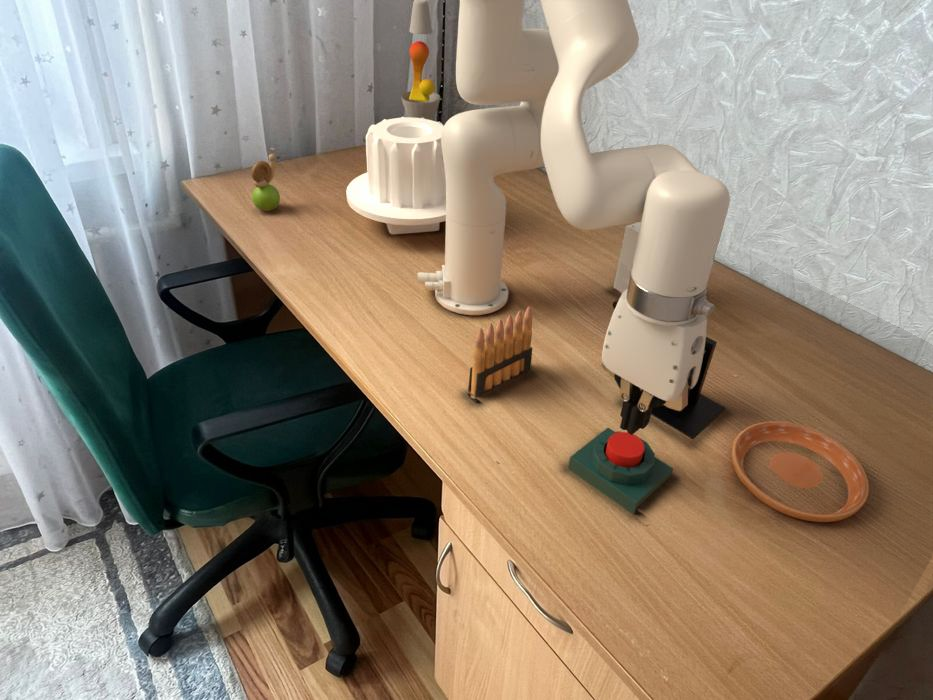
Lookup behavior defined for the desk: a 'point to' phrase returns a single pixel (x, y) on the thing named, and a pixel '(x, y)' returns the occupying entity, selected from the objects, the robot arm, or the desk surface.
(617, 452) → the button
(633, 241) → the small box
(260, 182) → the snail figurine
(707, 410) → the stand
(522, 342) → the ammunition clip
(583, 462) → the button block
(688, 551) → the desk surface
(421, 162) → the ribbed cylinder on disc
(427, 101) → the lava lamp
